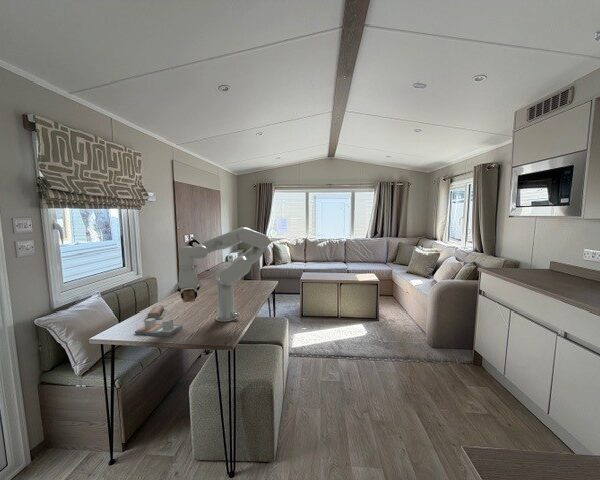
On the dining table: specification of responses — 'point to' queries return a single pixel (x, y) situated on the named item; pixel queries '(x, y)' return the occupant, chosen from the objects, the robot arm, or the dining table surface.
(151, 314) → the packaged product
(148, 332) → the pin board
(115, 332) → the dining table surface
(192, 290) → the sleeve
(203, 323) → the dining table surface
